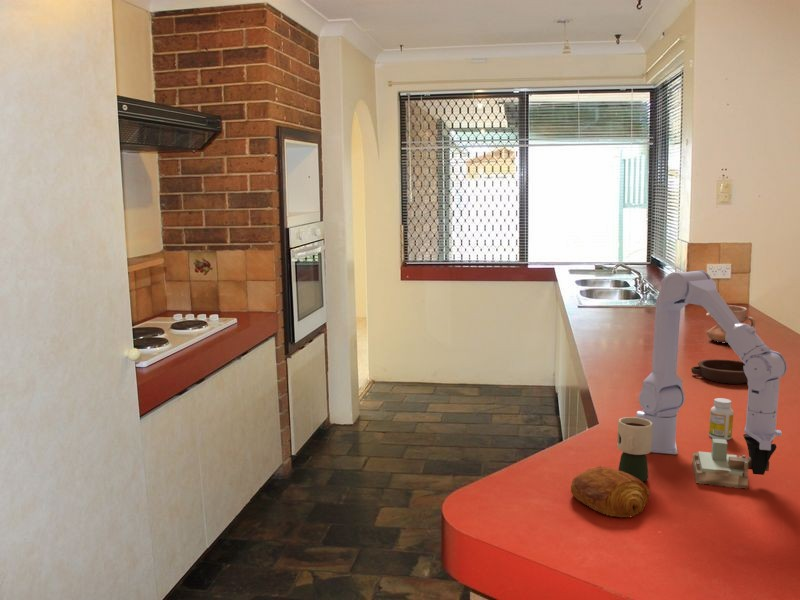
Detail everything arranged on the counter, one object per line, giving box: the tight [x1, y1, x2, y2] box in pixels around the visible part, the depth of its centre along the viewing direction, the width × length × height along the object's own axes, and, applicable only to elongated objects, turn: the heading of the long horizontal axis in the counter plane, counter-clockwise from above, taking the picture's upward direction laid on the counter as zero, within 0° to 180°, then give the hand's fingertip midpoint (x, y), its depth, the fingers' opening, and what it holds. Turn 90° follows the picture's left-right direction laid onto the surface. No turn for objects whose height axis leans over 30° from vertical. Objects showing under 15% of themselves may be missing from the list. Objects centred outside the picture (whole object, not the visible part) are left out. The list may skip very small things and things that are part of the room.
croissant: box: [570, 465, 651, 518], centre depth 152 cm, size 14×16×8 cm
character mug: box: [616, 416, 653, 483], centre depth 163 cm, size 11×7×13 cm, turn 151°
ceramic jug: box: [706, 304, 756, 343], centre depth 301 cm, size 18×14×14 cm
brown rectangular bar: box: [728, 456, 770, 472], centre depth 161 cm, size 8×2×2 cm, turn 73°
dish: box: [690, 358, 748, 385], centre depth 246 cm, size 18×22×5 cm
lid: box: [697, 438, 743, 476], centre depth 165 cm, size 8×11×5 cm
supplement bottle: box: [708, 397, 735, 441], centre depth 190 cm, size 5×5×10 cm
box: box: [691, 449, 749, 490], centre depth 166 cm, size 10×12×6 cm
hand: (757, 471), depth 161 cm, fingers closed on brown rectangular bar, 2 cm apart
